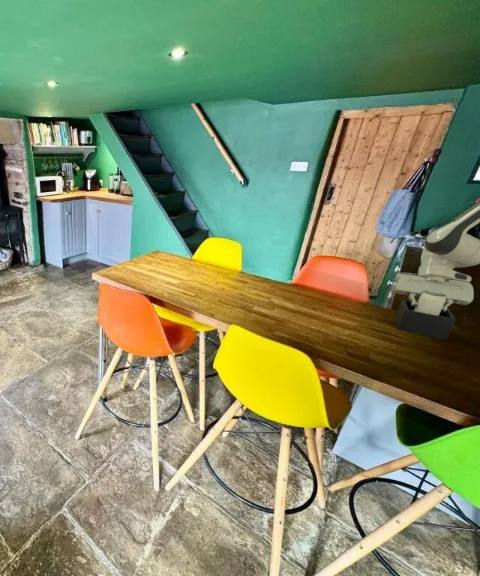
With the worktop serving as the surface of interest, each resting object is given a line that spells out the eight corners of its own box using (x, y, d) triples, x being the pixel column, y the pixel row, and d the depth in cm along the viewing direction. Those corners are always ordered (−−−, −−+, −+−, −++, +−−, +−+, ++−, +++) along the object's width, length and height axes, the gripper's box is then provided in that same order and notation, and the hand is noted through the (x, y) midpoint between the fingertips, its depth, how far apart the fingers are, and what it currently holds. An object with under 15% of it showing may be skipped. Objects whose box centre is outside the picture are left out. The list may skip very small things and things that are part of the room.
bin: (438, 327, 117) (448, 307, 114) (445, 341, 108) (456, 319, 104) (394, 318, 124) (402, 299, 121) (397, 330, 115) (405, 310, 112)
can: (429, 321, 116) (443, 292, 112) (436, 328, 111) (451, 298, 106) (407, 317, 119) (420, 288, 115) (412, 323, 114) (426, 294, 109)
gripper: (399, 267, 119) (393, 297, 116) (478, 277, 107) (473, 312, 104) (394, 275, 124) (388, 304, 121) (469, 285, 112) (464, 318, 108)
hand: (428, 308), depth 112 cm, fingers closed on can, 6 cm apart
